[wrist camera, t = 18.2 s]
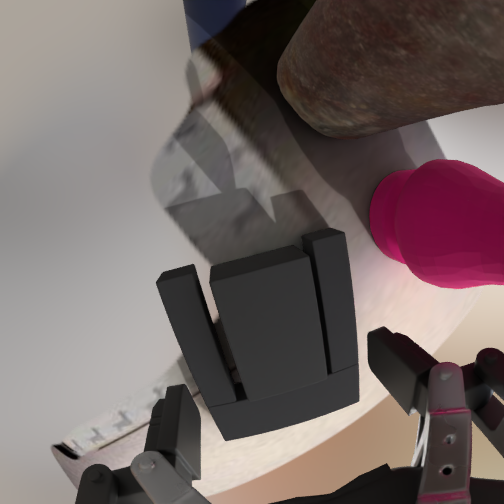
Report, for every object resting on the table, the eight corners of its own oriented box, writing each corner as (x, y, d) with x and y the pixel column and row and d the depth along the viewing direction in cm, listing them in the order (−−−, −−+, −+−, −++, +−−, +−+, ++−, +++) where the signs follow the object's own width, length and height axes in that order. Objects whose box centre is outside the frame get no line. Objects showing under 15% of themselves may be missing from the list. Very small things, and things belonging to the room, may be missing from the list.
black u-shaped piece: (162, 272, 16) (155, 282, 14) (331, 227, 16) (344, 231, 14) (223, 423, 19) (225, 441, 17) (349, 386, 19) (359, 401, 17)
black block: (210, 266, 16) (208, 282, 13) (293, 244, 16) (309, 255, 13) (243, 374, 18) (248, 402, 15) (313, 354, 18) (328, 379, 15)
